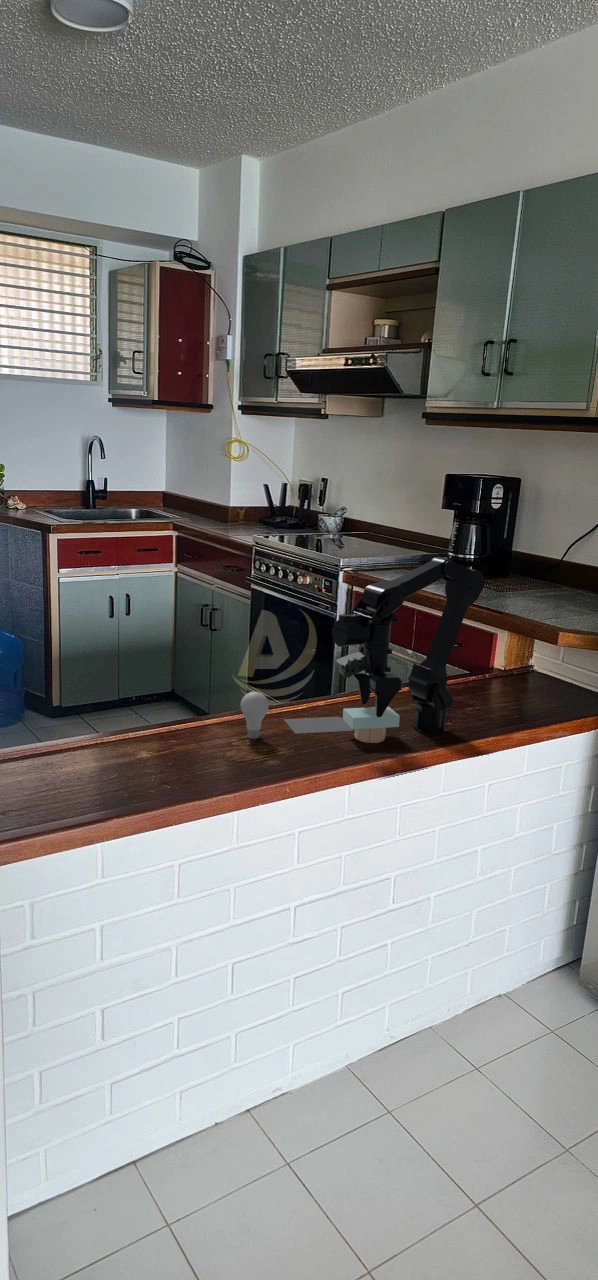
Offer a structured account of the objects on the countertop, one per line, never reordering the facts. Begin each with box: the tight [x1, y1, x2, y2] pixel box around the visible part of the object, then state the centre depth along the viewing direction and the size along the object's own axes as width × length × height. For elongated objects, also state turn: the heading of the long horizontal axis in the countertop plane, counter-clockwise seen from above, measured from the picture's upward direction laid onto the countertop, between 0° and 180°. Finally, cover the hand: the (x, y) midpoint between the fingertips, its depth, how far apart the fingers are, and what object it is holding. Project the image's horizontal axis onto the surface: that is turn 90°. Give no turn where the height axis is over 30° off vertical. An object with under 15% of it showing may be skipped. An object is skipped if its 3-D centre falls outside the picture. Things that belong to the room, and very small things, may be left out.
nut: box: [353, 728, 387, 744], centre depth 196 cm, size 7×7×4 cm
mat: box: [283, 716, 355, 735], centre depth 203 cm, size 14×10×1 cm
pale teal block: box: [342, 706, 401, 730], centre depth 195 cm, size 11×7×3 cm, turn 106°
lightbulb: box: [240, 691, 270, 740], centre depth 191 cm, size 6×6×11 cm
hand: (371, 710), depth 194 cm, fingers open, 9 cm apart
